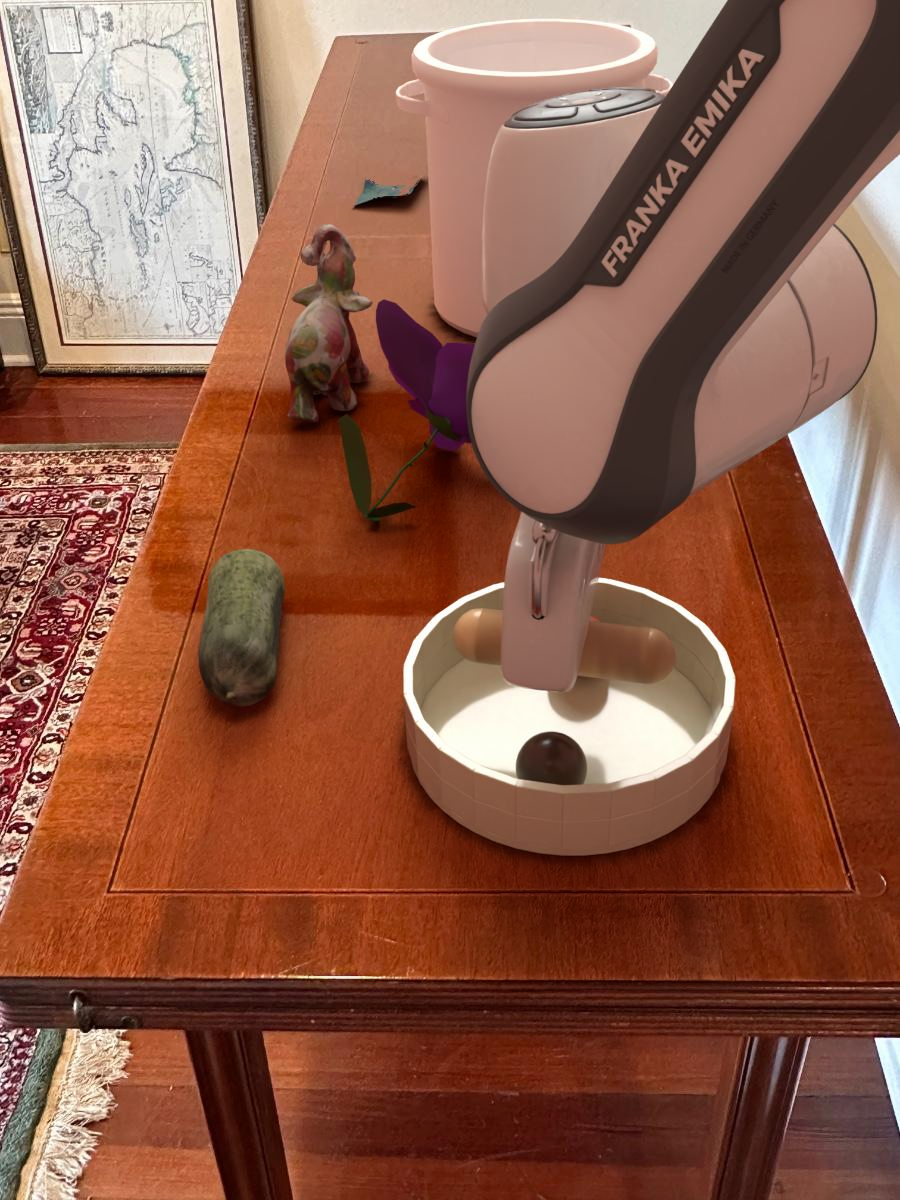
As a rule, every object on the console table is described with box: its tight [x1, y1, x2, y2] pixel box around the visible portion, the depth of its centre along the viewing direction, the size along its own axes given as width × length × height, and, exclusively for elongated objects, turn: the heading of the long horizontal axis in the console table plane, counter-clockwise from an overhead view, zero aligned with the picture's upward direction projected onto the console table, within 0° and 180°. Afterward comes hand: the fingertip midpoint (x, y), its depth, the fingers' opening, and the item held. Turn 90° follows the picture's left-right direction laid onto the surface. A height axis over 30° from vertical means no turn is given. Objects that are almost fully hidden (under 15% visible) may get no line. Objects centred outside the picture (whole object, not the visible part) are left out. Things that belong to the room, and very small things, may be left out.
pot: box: [395, 18, 674, 339], centre depth 115 cm, size 26×22×25 cm
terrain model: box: [352, 179, 419, 206], centre depth 152 cm, size 13×8×2 cm, turn 170°
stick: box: [453, 608, 676, 684], centre depth 68 cm, size 13×3×3 cm, turn 77°
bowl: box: [402, 577, 737, 857], centre depth 71 cm, size 19×19×5 cm
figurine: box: [284, 223, 373, 423], centre depth 104 cm, size 8×12×15 cm, turn 146°
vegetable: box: [197, 548, 286, 708], centre depth 78 cm, size 14×5×5 cm, turn 4°
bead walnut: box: [516, 731, 587, 785], centre depth 67 cm, size 4×4×4 cm
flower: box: [336, 298, 475, 522], centre depth 92 cm, size 15×15×14 cm
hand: (564, 644), depth 68 cm, fingers closed on stick, 3 cm apart
